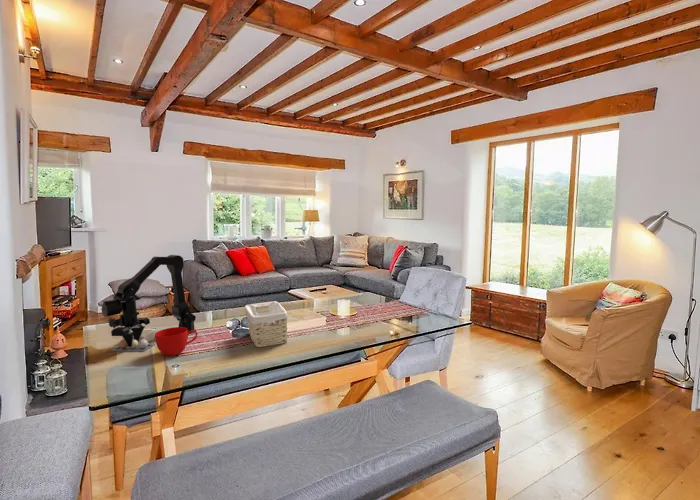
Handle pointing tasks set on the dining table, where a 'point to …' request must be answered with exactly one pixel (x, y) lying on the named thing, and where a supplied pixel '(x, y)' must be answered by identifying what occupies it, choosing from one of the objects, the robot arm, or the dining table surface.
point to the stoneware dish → (147, 334)
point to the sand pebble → (134, 344)
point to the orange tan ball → (123, 344)
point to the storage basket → (267, 324)
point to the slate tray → (133, 349)
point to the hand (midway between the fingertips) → (133, 344)
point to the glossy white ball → (143, 344)
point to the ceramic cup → (173, 340)
